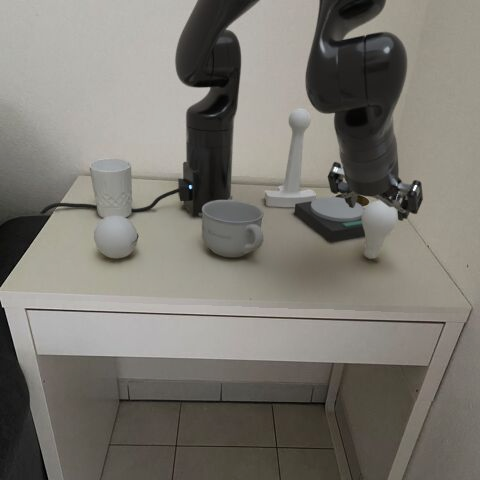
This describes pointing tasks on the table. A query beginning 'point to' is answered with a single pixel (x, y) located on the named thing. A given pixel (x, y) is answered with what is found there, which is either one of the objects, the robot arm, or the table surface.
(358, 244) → the table surface
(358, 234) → the scale
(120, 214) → the white cup
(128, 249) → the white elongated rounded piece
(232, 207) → the teacup
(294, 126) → the joystick
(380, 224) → the lightbulb
